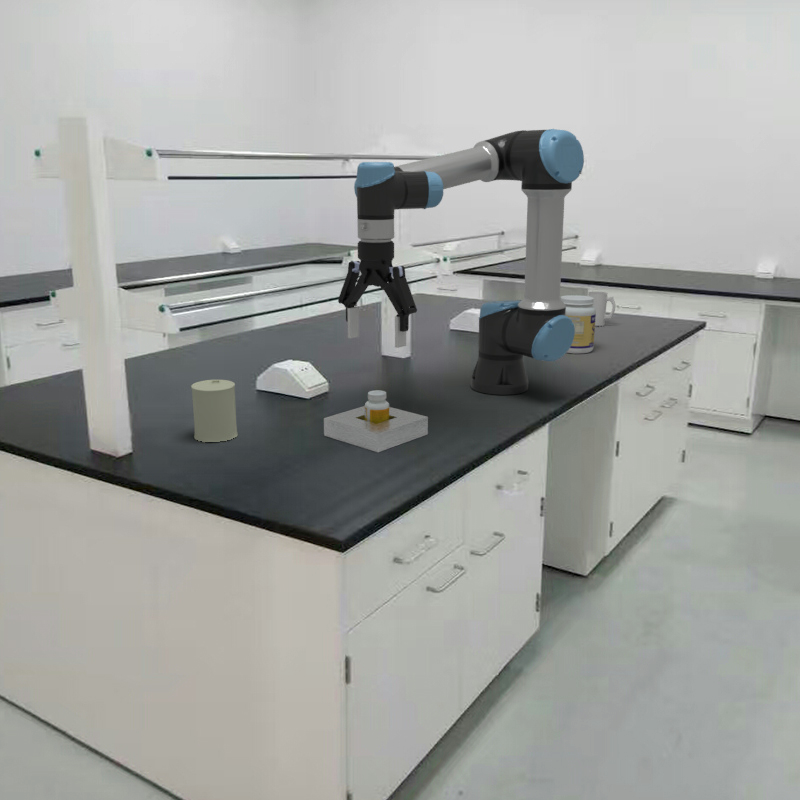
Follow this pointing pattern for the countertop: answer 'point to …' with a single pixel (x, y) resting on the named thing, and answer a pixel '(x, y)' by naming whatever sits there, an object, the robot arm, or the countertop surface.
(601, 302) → the mug
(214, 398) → the can
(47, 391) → the countertop surface
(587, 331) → the supplement tub
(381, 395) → the supplement bottle
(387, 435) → the block with square hole
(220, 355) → the countertop surface
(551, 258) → the robot arm
